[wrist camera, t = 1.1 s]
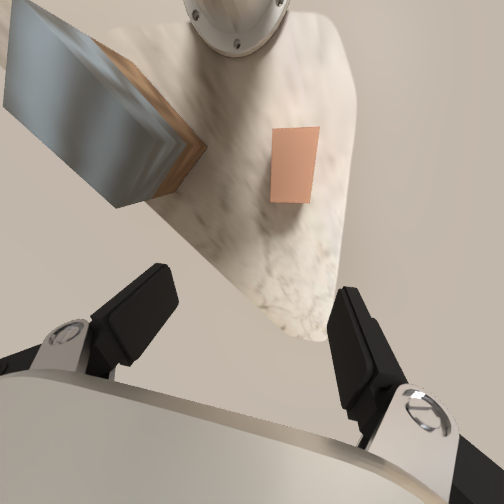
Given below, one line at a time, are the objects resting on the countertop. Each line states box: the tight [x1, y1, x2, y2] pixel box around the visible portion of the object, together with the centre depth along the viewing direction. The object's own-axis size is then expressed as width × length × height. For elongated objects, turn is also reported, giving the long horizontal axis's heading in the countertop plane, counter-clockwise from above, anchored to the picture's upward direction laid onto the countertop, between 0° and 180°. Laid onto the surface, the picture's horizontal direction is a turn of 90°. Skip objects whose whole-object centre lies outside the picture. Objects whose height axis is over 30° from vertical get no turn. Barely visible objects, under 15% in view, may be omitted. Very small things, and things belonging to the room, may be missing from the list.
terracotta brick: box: [270, 127, 320, 203], centre depth 24 cm, size 8×5×6 cm, turn 0°
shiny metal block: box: [3, 0, 207, 208], centre depth 23 cm, size 14×10×12 cm
